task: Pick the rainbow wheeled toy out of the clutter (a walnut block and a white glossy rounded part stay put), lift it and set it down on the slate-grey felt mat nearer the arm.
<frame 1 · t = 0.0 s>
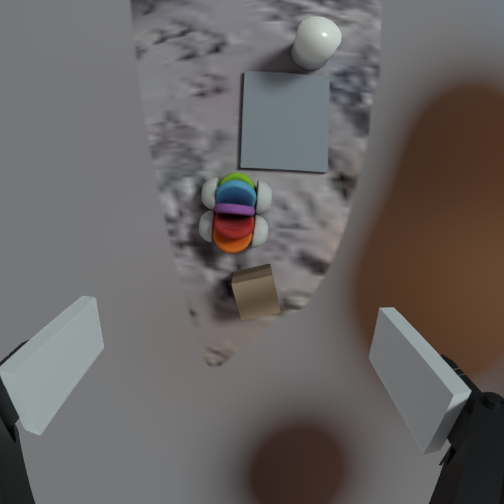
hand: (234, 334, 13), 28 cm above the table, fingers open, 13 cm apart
rainbow wheeled toy: (235, 209, 40), on the table
walnut block: (255, 284, 42), on the table
felt mat: (285, 120, 37), on the table
white glossy rounded part: (309, 54, 35), on the table
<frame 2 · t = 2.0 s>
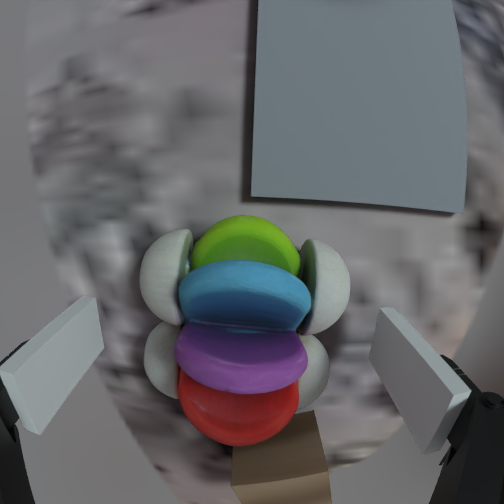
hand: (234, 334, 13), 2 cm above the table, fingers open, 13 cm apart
rainbow wheeled toy: (241, 305, 15), on the table
walnut block: (280, 440, 18), on the table
felt mat: (371, 71, 12), on the table
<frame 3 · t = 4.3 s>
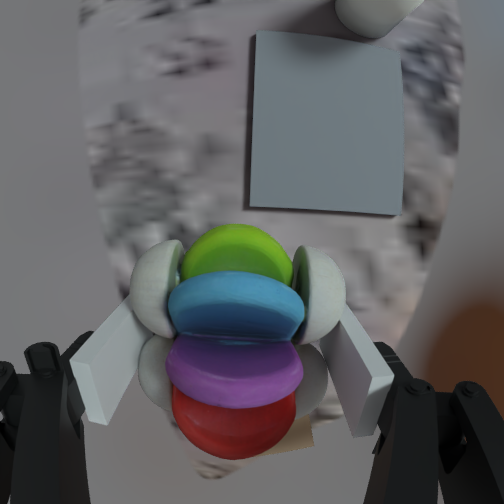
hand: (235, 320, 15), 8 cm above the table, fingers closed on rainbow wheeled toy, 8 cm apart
rainbow wheeled toy: (236, 315, 15), point 7 cm above the table, touching gripper
walnut block: (272, 393, 25), on the table
felt mat: (331, 118, 20), on the table
white glossy rounded part: (364, 13, 18), on the table
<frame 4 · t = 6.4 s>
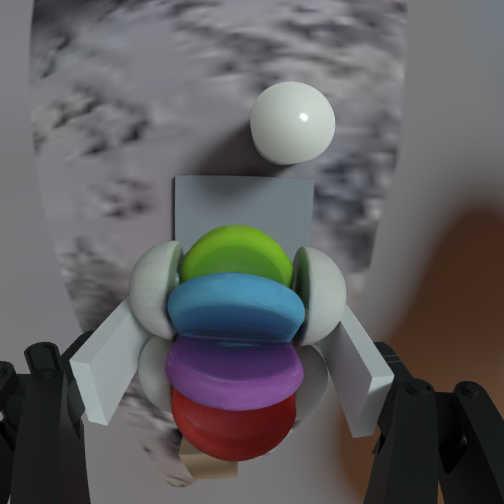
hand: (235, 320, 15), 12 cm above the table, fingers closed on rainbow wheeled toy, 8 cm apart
rainbow wheeled toy: (236, 316, 15), point 11 cm above the table, touching gripper
walnut block: (212, 435, 32), on the table
felt mat: (242, 255, 26), on the table
white glossy rounded part: (283, 134, 24), on the table
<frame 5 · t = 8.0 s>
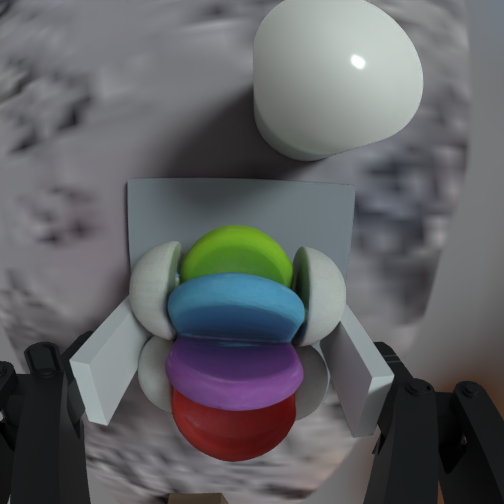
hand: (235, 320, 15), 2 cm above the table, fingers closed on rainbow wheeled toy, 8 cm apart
rainbow wheeled toy: (236, 316, 15), point 1 cm above the table, touching gripper
felt mat: (237, 305, 16), on the table
white glossy rounded part: (305, 111, 14), on the table
when the fingers open (1 cm above the table, at t = 9.0 s): rainbow wheeled toy stays where it is, resting on felt mat.
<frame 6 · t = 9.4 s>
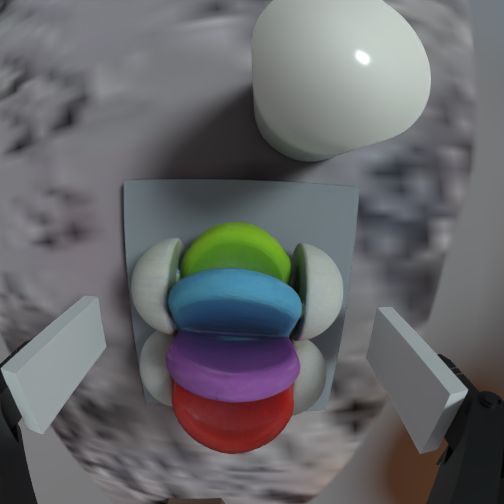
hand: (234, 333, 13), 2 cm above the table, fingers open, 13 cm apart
rainbow wheeled toy: (236, 312, 15), resting on felt mat
felt mat: (236, 310, 16), on the table
white glossy rounded part: (307, 110, 13), on the table
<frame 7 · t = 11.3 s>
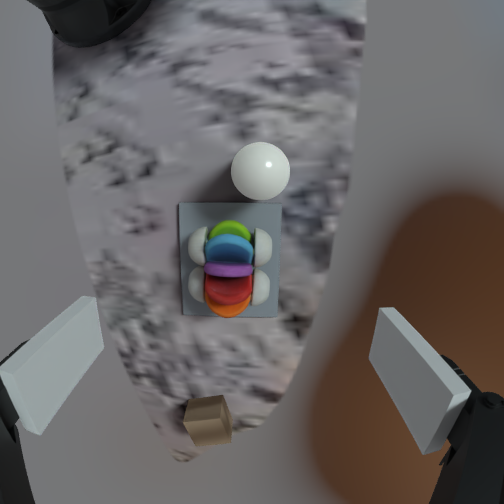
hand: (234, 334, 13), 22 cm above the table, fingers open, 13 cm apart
rainbow wheeled toy: (230, 261, 34), resting on felt mat
walnut block: (211, 409, 40), on the table
felt mat: (229, 260, 35), on the table
white glossy rounded part: (258, 170, 33), on the table
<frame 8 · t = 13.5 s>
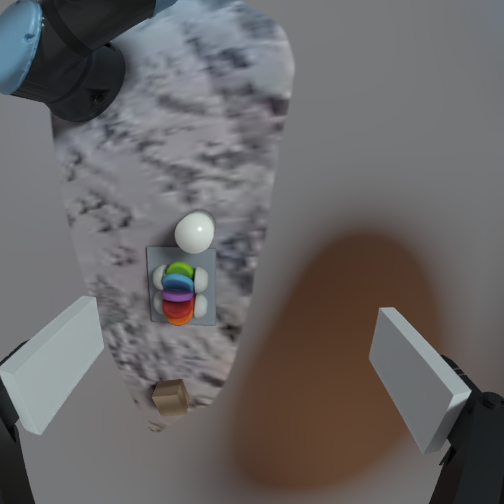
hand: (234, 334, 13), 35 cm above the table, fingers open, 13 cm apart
rainbow wheeled toy: (183, 286, 49), resting on felt mat
walnut block: (174, 389, 55), on the table
felt mat: (182, 286, 49), on the table
white glossy rounded part: (199, 225, 47), on the table
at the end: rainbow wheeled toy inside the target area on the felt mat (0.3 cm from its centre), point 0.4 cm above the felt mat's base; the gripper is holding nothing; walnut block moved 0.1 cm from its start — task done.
